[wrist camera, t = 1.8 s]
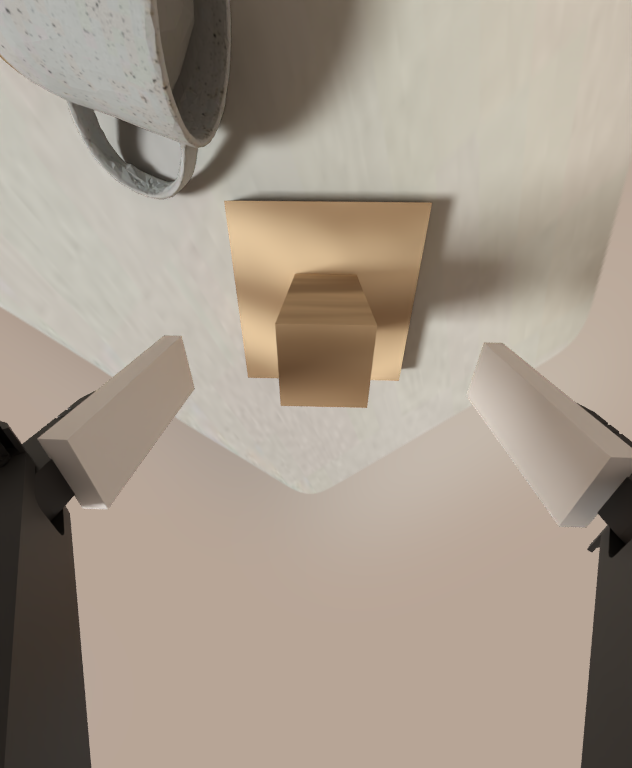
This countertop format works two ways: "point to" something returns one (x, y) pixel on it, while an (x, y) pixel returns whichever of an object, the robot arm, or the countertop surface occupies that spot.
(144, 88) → the ceramic mug
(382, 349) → the wooden plaque with block
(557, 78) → the countertop surface
